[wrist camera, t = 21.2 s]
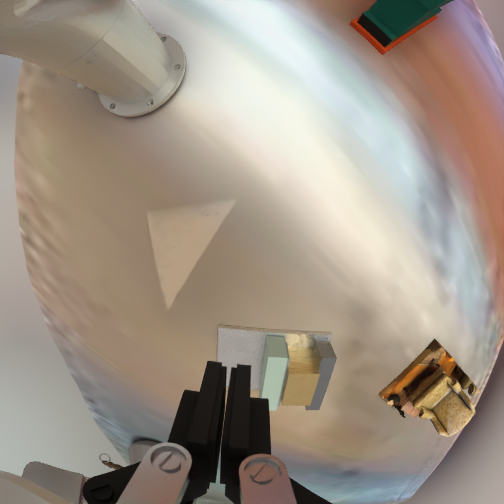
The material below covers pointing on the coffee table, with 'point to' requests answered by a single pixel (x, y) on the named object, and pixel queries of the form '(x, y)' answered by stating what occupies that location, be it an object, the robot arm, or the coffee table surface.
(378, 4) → the power tool
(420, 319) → the coffee table surface
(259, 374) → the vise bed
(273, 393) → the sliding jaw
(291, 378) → the brass block
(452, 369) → the armchair
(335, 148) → the coffee table surface
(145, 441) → the coffee pot
